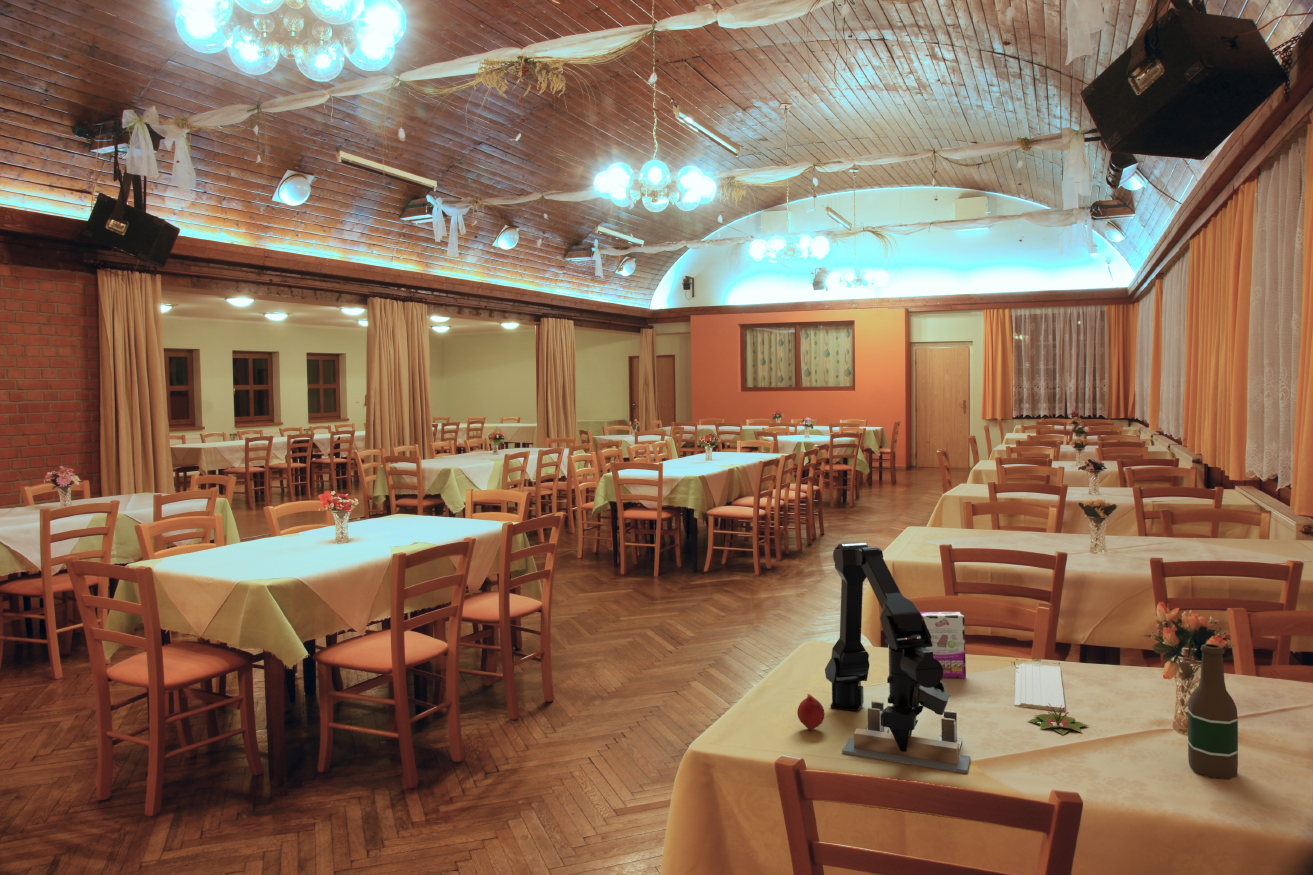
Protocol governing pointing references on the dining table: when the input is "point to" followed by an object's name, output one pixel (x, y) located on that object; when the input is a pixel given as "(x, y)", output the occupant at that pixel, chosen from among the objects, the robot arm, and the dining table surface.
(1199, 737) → the beer bottle
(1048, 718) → the lily flower
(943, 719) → the post right
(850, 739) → the mat
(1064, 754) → the dining table surface
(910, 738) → the rail
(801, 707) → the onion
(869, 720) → the post left
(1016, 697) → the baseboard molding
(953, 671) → the candy bar box
